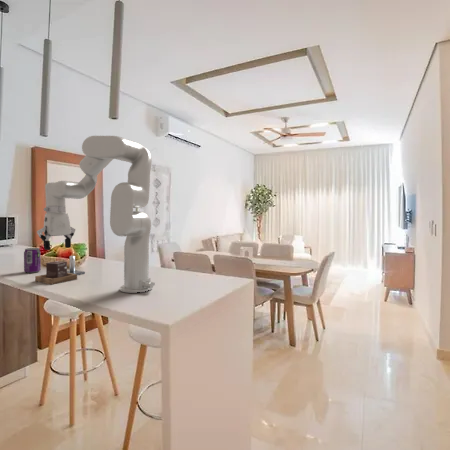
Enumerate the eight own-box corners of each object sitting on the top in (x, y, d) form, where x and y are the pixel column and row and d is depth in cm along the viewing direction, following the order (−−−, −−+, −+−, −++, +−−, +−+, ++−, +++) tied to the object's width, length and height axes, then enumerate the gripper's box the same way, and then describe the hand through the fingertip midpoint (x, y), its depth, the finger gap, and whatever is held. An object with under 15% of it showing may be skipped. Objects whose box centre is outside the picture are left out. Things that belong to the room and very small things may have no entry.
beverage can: (43, 271, 156) (43, 248, 156) (28, 274, 150) (28, 249, 150) (36, 270, 160) (36, 247, 160) (21, 272, 154) (21, 248, 154)
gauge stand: (84, 273, 153) (84, 255, 153) (70, 276, 146) (70, 257, 146) (74, 271, 157) (74, 254, 157) (59, 274, 150) (59, 256, 150)
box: (57, 280, 135) (56, 263, 134) (45, 279, 136) (45, 263, 136) (67, 277, 141) (67, 261, 140) (56, 276, 142) (56, 260, 142)
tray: (77, 279, 141) (77, 274, 141) (51, 284, 130) (51, 279, 130) (61, 276, 147) (60, 271, 146) (35, 281, 136) (35, 276, 136)
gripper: (41, 210, 128) (43, 251, 128) (78, 210, 143) (80, 246, 143) (31, 210, 131) (33, 250, 132) (68, 210, 146) (70, 246, 147)
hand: (57, 248), depth 137 cm, fingers open, 9 cm apart
